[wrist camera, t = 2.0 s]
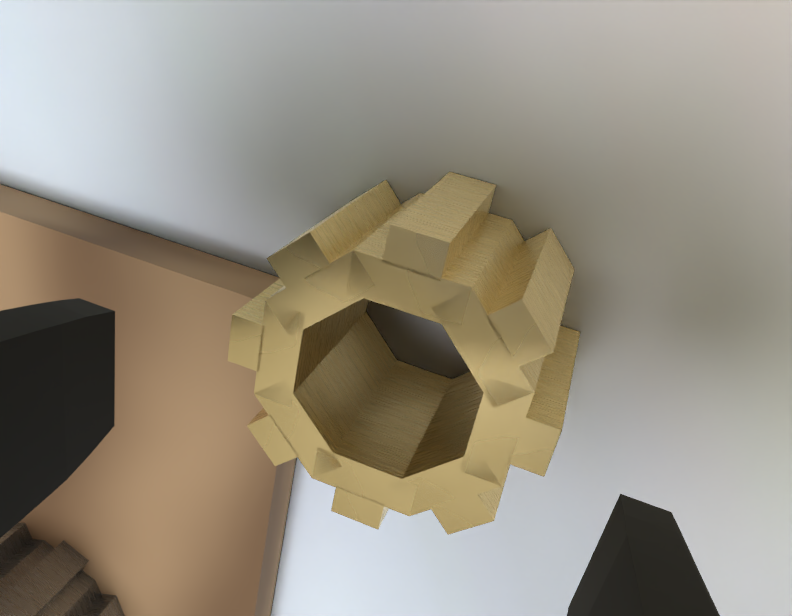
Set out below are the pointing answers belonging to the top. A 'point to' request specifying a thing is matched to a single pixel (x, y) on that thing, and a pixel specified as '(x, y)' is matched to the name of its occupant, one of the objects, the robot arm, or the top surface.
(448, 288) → the brass gear
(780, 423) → the top surface
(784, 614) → the top surface
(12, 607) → the gear
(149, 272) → the gear board
